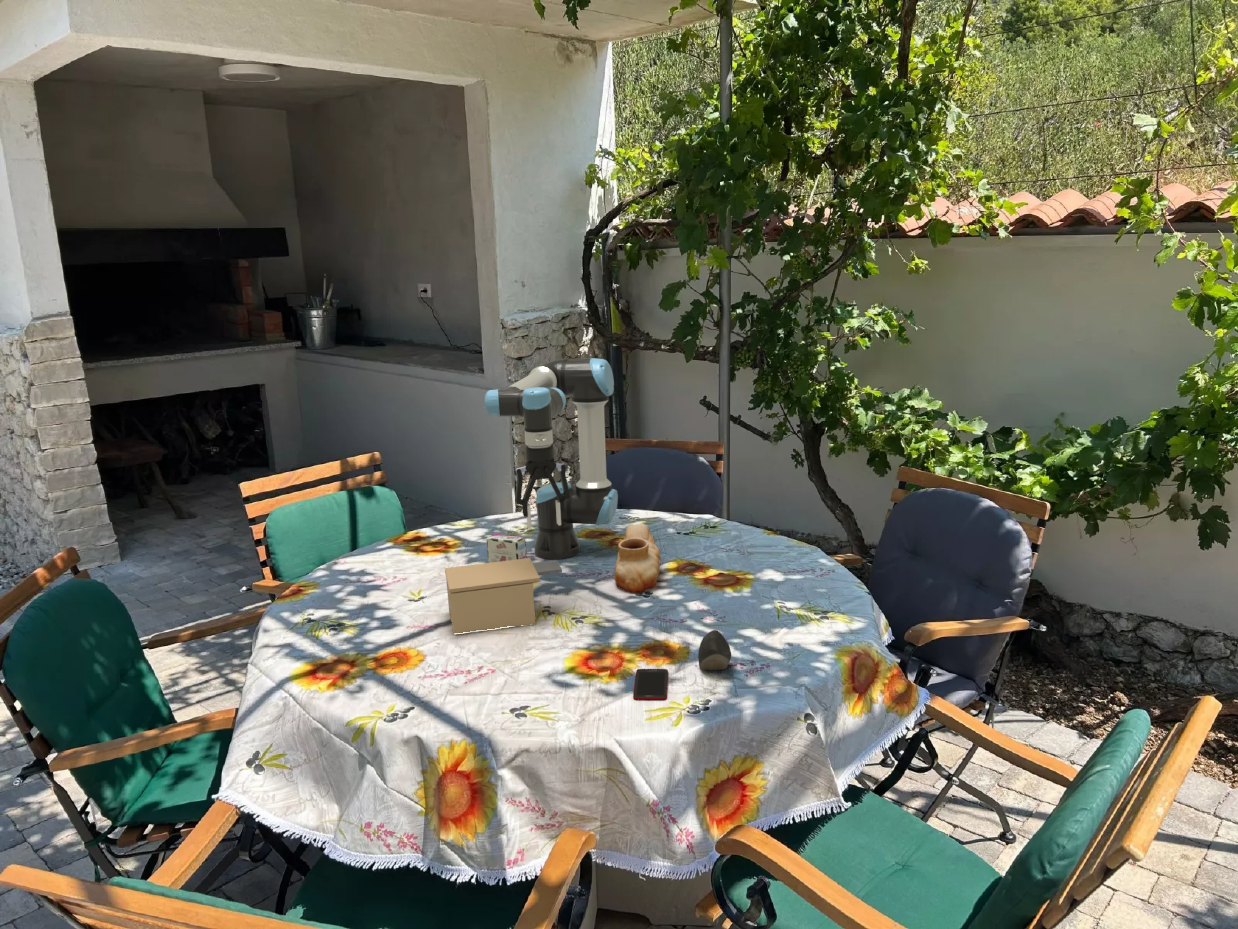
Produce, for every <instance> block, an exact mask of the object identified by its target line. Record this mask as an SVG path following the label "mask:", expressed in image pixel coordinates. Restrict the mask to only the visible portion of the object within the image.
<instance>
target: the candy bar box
mask: <svg viewBox="0 0 1238 929" xmlns="http://www.w3.org/2000/svg"><path fill="white" fill-rule="evenodd" d="M486 548H487V563H492V562H500V561H508V560H517V559H525V558H528V557H527V547H526V537H525V536H523V537H522V536H516V535H508V534H507V535H506V534H500V533H499V534H498V533H494V534H492V535H490V536H489V537H486Z"/></svg>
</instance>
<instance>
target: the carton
mask: <svg viewBox="0 0 1238 929" xmlns="http://www.w3.org/2000/svg"><path fill="white" fill-rule="evenodd" d="M445 580H446V590H447V600H448V601H447V602H448V612H450V614H449V617H451V618H450V621H451V622H452V623H451V622H450V623H451V627H452V626H453V628H452V631H454V632H453V634H454V633H463V632H470V631H476V630H487V629H495V628H500V627H507V626H521V625H529V626H531V625H530V624H535V625H536V613H535V599H534V582H531V583H523V584H515V585H508V586H500V587H492V588H484V589H476V590H469V591H461V592H453V593H450V592H449V588H448V583H447V579H446V578H445ZM521 627H522V626H521Z"/></svg>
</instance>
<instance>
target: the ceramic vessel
mask: <svg viewBox="0 0 1238 929" xmlns="http://www.w3.org/2000/svg"><path fill="white" fill-rule="evenodd" d="M617 546H618V547H617V548H618V552H617V556H616V561H615V564H614V569H613V570H614V577H613V580H614V582H615V584H616V586H617V588H618V589H621V590H623V589H624V590H623V591H626V592H628V593H630V594H639V593H640V594H641V593H643V592H645V591H647V590H651V589H653V588H655V587H656V586H657V579H658V576H659V574H660V573H661V572H660V571H661V570H660V568H661V551H660V549H659V547H658V546H657V545H656V542H655V538H654V536H653V535H652V534H651V532H650V528H649V526H648V525H647V524H645V523H640V524H634V523H633V524H629V525H628V526H627V527H626V529H625V535H624V537H623V539H622V540H621V541H620V542H619V543H618V545H617ZM646 589H647V590H646Z"/></svg>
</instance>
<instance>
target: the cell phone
mask: <svg viewBox="0 0 1238 929" xmlns="http://www.w3.org/2000/svg"><path fill="white" fill-rule="evenodd" d="M668 684H669V669H667V668H637V669H636V670H635V677H634V686H633V694H632V699H633V701H643V702H645V701H661V702H662V701H666V700H667V698H668V686H669V685H668Z"/></svg>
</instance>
